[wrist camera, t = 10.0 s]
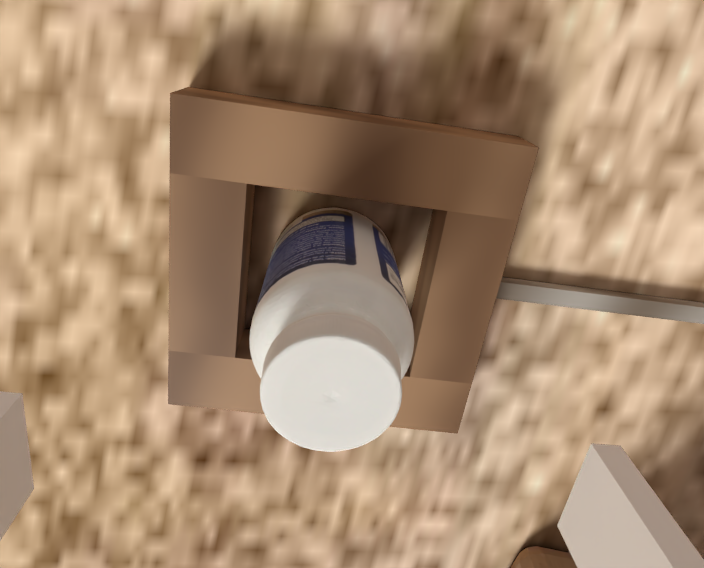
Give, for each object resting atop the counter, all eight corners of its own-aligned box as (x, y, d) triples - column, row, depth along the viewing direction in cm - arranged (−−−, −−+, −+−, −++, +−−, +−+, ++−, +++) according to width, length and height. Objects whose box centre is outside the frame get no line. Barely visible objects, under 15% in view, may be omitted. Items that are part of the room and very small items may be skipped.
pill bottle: (254, 291, 24) (205, 438, 15) (300, 184, 22) (274, 281, 13) (362, 333, 25) (376, 494, 16) (415, 234, 23) (463, 356, 14)
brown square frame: (183, 371, 26) (168, 404, 24) (188, 87, 21) (170, 93, 18) (709, 427, 28) (742, 462, 26) (837, 183, 23) (892, 200, 20)
